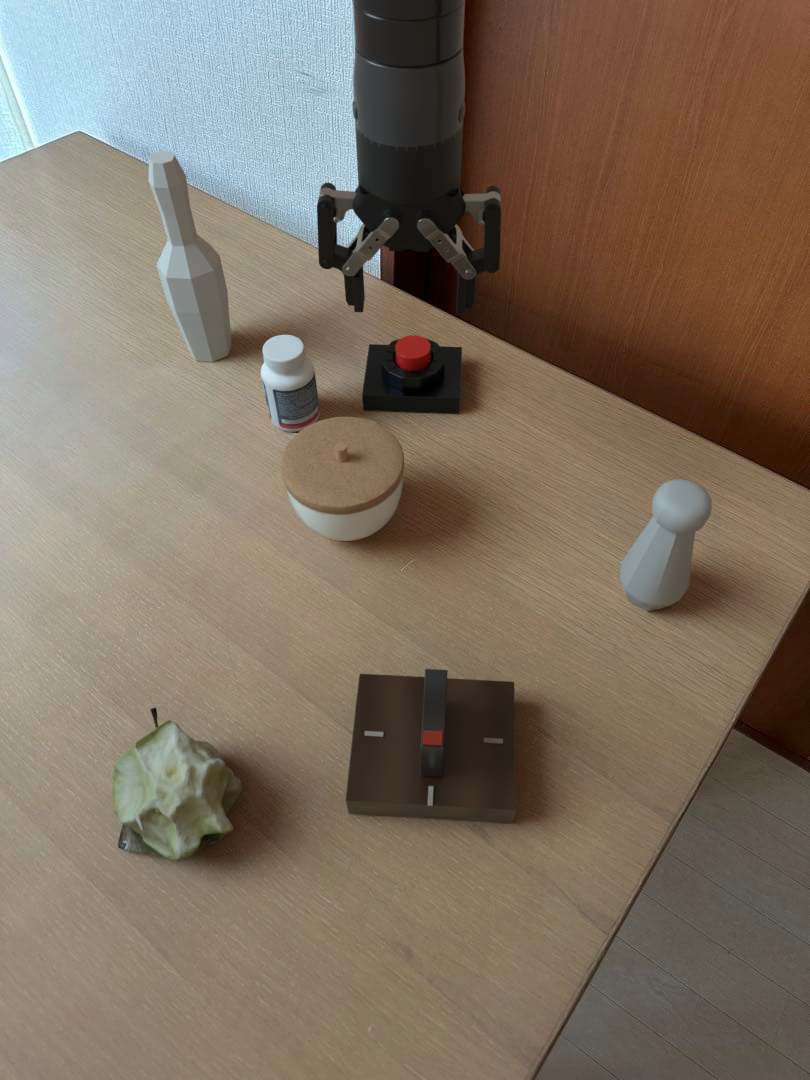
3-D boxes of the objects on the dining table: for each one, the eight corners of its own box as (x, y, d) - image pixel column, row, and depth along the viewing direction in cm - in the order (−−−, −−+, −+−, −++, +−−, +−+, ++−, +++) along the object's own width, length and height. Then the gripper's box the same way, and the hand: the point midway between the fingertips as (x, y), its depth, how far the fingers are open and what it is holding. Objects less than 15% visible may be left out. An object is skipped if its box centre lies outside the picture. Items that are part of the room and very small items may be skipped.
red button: (431, 348, 87) (431, 335, 85) (429, 372, 84) (429, 358, 83) (397, 347, 87) (396, 334, 85) (394, 371, 85) (394, 357, 83)
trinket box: (377, 458, 82) (372, 388, 75) (425, 536, 76) (425, 467, 69) (275, 495, 80) (260, 425, 72) (316, 578, 74) (304, 511, 66)
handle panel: (510, 697, 66) (514, 679, 64) (512, 825, 60) (516, 810, 58) (361, 689, 67) (359, 671, 65) (348, 815, 61) (345, 800, 58)
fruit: (139, 758, 65) (125, 696, 60) (257, 773, 65) (254, 712, 60) (97, 871, 58) (77, 812, 53) (228, 888, 58) (222, 831, 53)
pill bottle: (331, 414, 86) (322, 346, 79) (293, 441, 84) (281, 374, 77) (296, 390, 88) (285, 322, 81) (259, 416, 86) (244, 348, 79)
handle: (424, 699, 63) (425, 666, 59) (445, 701, 63) (447, 667, 59) (420, 776, 59) (420, 746, 55) (442, 777, 59) (444, 748, 55)
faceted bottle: (184, 371, 90) (127, 180, 73) (179, 335, 94) (125, 144, 77) (242, 362, 91) (200, 170, 74) (235, 326, 95) (194, 135, 77)
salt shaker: (616, 559, 74) (648, 460, 64) (681, 569, 74) (724, 471, 63) (612, 613, 71) (645, 518, 61) (681, 624, 70) (726, 530, 60)
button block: (461, 362, 91) (462, 333, 87) (459, 414, 86) (460, 385, 83) (370, 359, 91) (368, 330, 88) (363, 410, 86) (360, 381, 83)
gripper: (511, 90, 59) (493, 282, 72) (312, 86, 60) (330, 278, 73) (514, 144, 55) (494, 339, 68) (299, 140, 55) (320, 334, 68)
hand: (409, 307), depth 70 cm, fingers open, 8 cm apart
